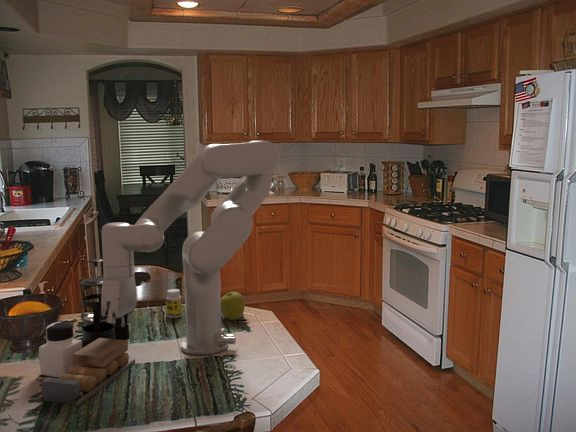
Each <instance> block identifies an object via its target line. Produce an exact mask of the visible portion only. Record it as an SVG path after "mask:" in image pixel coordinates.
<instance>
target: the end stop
mask: <svg viewBox="0 0 576 432" xmlns="http://www.w3.org/2000/svg"><path fill="white" fill-rule="evenodd" d="M41 388H42V391H41V392H42V394H43V400H42V401H43V402H52V403H58V404H59V403H61V404H67V405H74V406H75V402H76V401H78V400H79V399H80V398H81V394H80V381H77V380H68V379H59V378H58V377H51V376H47V377H46V378H45V379H43V380H41Z"/></svg>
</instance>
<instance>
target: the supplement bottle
mask: <svg viewBox="0 0 576 432" xmlns="http://www.w3.org/2000/svg"><path fill="white" fill-rule="evenodd" d="M166 292H167V293H166V295H167V296H166V297H165V300H166V301H165V304H166V316H167V318H170V319H175V318H179V317H182V314H183V313H182V312H183V311H182V310H183V309H182V296H181V290H180V289H179V288H171V289H167V290H166Z"/></svg>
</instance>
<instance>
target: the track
mask: <svg viewBox="0 0 576 432" xmlns="http://www.w3.org/2000/svg"><path fill="white" fill-rule="evenodd" d="M135 363H136V359H135V358H134V359H133V358H132V359H131V360H130V355H129V353H128V352H124V353H123V354H122V355H120V356H119V357H117V358H116V359H114V360H113V361H112V362H110V363H109V364H107V365H106V366H105V367H95V366H85V365H81V366H72V367H71V368H70V369H69V371H68V374H73V375H83V376H94V377H96V378H97V387H95V388H94V389H93V390H91V391H90V392H86V394H84V392H80V394H81V398H80V399H79V400H78V401H76V402H75V405H74V406H76V407H79V406H80V405H81V404H83V403H84V402H86V401H87V400H88V399H90V398H91V397H92V396H94V395H95V394H96V393H97V392H98V391H100V390H102V389H103V387H105V386H107V385H108V384H109V383H111V381H113V380H115V378H117V377H118V376H119V375H121V374H122V373H123V372H125V371H126V370H127V369H129V368H130V367H131V366H133V365H134V364H135ZM119 368H120V369H119ZM108 376H109V377H108ZM42 401H43V393H42V394H40V396H38V397H37V402H42Z"/></svg>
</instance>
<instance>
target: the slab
mask: <svg viewBox="0 0 576 432" xmlns="http://www.w3.org/2000/svg"><path fill="white" fill-rule="evenodd" d="M128 340H129V339H128ZM128 340H117V339H106V338H98V339H97V340H95V341H93V342H92V343H90V344H88V343H87V345H86V346H84V347H83V346H82V349H80V350H79V351H77V352H75V353H74V354H73V364H76V365H85V366H95V367H105V366H106V365H107V364H109V363H110V362H112V361H113V360H114V359H116V358H117V357H119V356H120V355H122V354H123V353H127V351H128V350H129V344H128V343H129V342H128Z"/></svg>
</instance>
